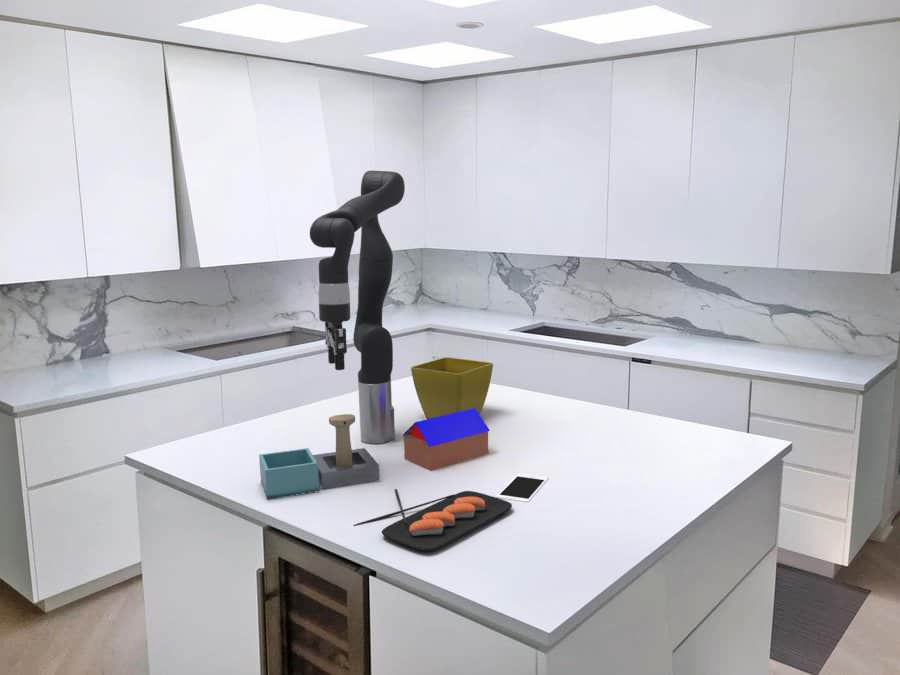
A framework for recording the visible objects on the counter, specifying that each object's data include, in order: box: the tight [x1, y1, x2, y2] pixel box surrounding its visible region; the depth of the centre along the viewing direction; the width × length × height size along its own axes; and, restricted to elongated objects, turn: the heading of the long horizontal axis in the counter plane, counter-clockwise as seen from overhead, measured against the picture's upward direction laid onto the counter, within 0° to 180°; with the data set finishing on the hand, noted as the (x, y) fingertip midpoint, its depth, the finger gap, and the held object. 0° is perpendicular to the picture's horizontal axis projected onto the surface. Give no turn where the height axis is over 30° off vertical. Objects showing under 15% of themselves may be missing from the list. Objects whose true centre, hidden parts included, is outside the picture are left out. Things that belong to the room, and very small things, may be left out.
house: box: [402, 408, 490, 471], centre depth 200 cm, size 12×20×12 cm, turn 128°
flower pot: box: [410, 356, 494, 419], centre depth 236 cm, size 19×19×17 cm
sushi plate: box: [353, 488, 513, 552], centre depth 164 cm, size 29×30×4 cm
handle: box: [328, 413, 356, 468], centre depth 187 cm, size 5×6×15 cm
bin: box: [258, 447, 320, 500], centre depth 181 cm, size 12×12×7 cm
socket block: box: [312, 447, 380, 490], centre depth 188 cm, size 14×14×4 cm
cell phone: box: [495, 473, 550, 503], centre depth 178 cm, size 8×16×1 cm, turn 156°
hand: (336, 366), depth 186 cm, fingers open, 8 cm apart
